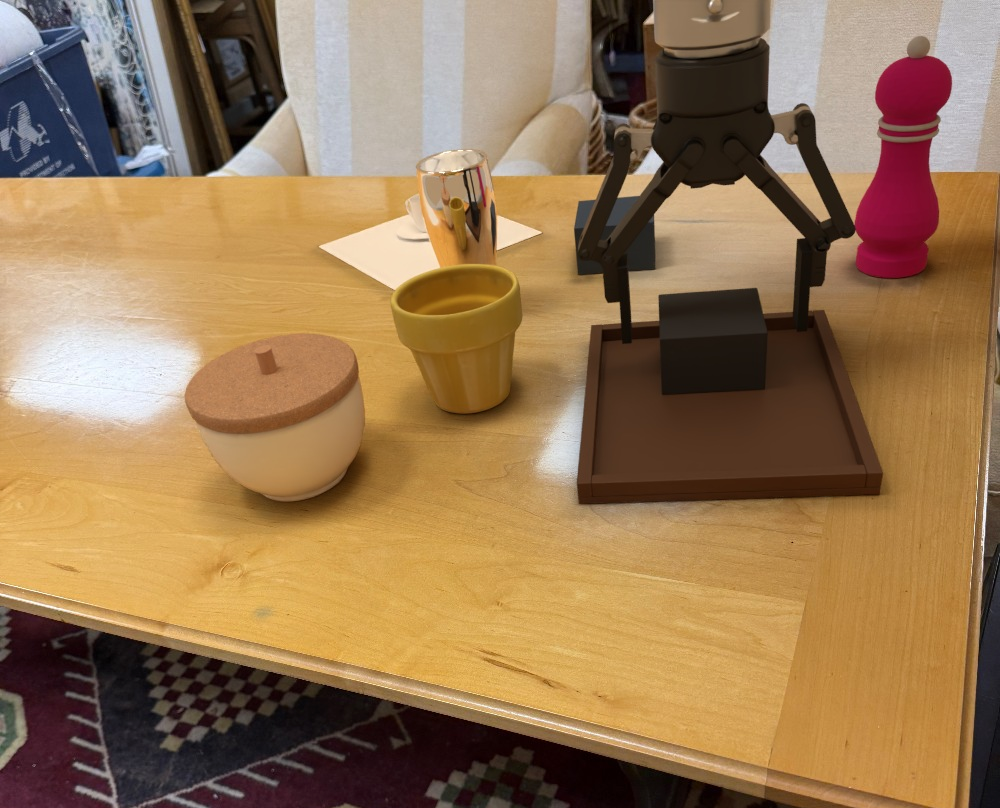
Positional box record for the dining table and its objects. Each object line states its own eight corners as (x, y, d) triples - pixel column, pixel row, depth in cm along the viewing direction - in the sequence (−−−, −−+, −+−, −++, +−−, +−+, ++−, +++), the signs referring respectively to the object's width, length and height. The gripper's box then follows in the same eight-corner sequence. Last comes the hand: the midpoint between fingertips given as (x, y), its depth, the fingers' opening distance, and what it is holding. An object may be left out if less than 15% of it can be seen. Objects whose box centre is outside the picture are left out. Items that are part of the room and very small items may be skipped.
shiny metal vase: (431, 310, 93) (403, 161, 84) (494, 291, 94) (472, 143, 86) (456, 335, 87) (428, 179, 79) (521, 314, 89) (501, 159, 80)
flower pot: (461, 355, 84) (443, 254, 78) (555, 377, 78) (543, 270, 73) (388, 410, 78) (362, 305, 72) (484, 438, 72) (465, 326, 66)
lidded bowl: (238, 545, 65) (186, 415, 59) (211, 462, 75) (164, 341, 68) (402, 487, 68) (371, 357, 62) (356, 414, 78) (325, 294, 71)
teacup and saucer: (476, 228, 110) (471, 195, 107) (420, 249, 107) (413, 215, 104) (439, 213, 116) (433, 181, 113) (385, 232, 113) (378, 200, 110)
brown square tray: (822, 328, 79) (824, 309, 78) (880, 494, 60) (883, 472, 59) (592, 342, 83) (591, 324, 82) (578, 504, 64) (576, 483, 63)
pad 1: (654, 239, 100) (653, 194, 97) (655, 269, 93) (653, 221, 91) (582, 245, 101) (578, 200, 98) (577, 274, 95) (573, 228, 92)
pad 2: (755, 341, 78) (757, 287, 75) (765, 389, 71) (767, 332, 68) (659, 347, 79) (658, 294, 76) (661, 395, 73) (659, 338, 70)
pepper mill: (836, 272, 87) (857, 45, 75) (870, 245, 91) (896, 25, 79) (911, 286, 83) (946, 48, 71) (944, 257, 87) (982, 26, 75)
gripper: (521, 79, 60) (555, 362, 73) (924, 30, 56) (885, 341, 68) (532, 54, 66) (561, 320, 79) (897, 7, 61) (865, 297, 74)
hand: (712, 330), depth 73 cm, fingers open, 13 cm apart
